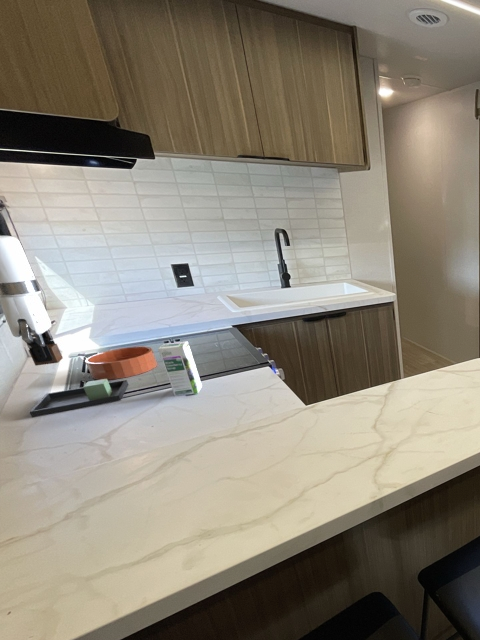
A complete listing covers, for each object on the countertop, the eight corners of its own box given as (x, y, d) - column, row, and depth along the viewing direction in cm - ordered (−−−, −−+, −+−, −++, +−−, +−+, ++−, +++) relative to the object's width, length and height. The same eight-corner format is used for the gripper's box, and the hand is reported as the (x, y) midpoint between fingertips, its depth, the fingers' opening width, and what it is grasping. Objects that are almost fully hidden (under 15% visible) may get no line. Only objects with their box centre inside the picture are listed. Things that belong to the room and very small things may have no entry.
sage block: (89, 400, 110) (83, 387, 109) (92, 395, 114) (86, 381, 112) (109, 397, 113) (103, 383, 111) (112, 391, 116) (106, 378, 114)
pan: (32, 419, 102) (29, 412, 101) (49, 400, 112) (46, 393, 112) (121, 402, 111) (118, 395, 110) (129, 385, 121) (126, 379, 120)
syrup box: (174, 397, 113) (157, 348, 108) (179, 389, 118) (163, 342, 113) (198, 393, 115) (182, 345, 110) (202, 386, 120) (188, 340, 115)
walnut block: (35, 365, 103) (28, 350, 102) (41, 360, 107) (34, 345, 105) (58, 362, 105) (51, 347, 104) (63, 358, 109) (56, 343, 107)
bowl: (87, 385, 121) (78, 367, 119) (99, 369, 134) (91, 352, 131) (155, 374, 129) (148, 356, 127) (160, 359, 142) (154, 343, 140)
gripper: (8, 285, 103) (39, 352, 110) (-23, 295, 90) (14, 371, 97) (49, 282, 107) (76, 347, 114) (25, 292, 94) (57, 365, 101)
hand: (47, 357), depth 106 cm, fingers closed on walnut block, 4 cm apart
